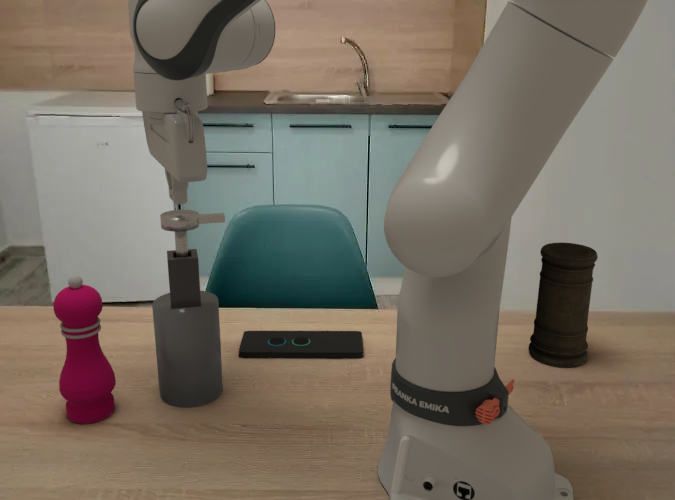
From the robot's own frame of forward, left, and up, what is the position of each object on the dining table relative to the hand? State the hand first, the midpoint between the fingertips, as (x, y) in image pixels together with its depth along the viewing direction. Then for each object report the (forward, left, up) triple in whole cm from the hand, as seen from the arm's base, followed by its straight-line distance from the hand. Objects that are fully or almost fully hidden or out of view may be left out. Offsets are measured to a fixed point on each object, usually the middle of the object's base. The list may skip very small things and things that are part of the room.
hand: (178, 201), depth 92 cm
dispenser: (0, 0, -28) cm, 28 cm away
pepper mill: (+7, +12, -29) cm, 32 cm away
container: (-39, -43, -29) cm, 65 cm away
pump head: (-1, -1, -10) cm, 11 cm away
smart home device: (-4, -21, -29) cm, 36 cm away
